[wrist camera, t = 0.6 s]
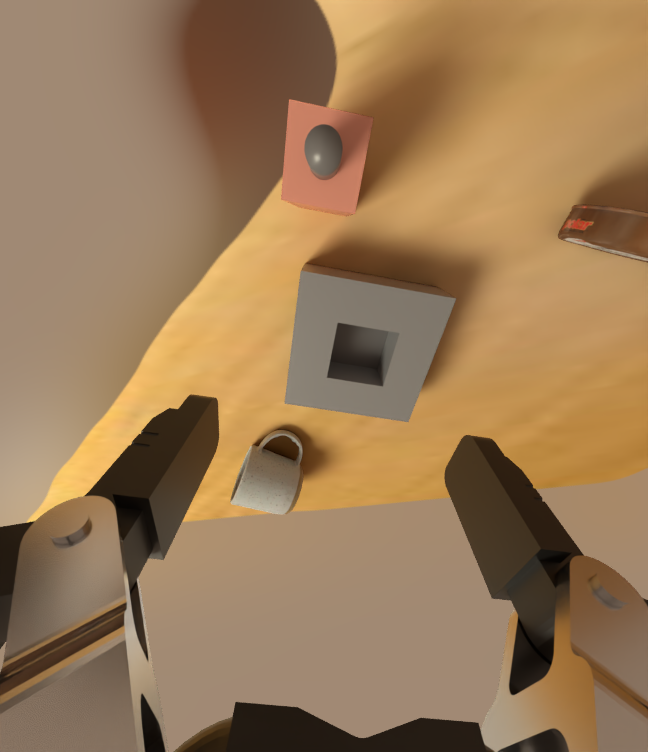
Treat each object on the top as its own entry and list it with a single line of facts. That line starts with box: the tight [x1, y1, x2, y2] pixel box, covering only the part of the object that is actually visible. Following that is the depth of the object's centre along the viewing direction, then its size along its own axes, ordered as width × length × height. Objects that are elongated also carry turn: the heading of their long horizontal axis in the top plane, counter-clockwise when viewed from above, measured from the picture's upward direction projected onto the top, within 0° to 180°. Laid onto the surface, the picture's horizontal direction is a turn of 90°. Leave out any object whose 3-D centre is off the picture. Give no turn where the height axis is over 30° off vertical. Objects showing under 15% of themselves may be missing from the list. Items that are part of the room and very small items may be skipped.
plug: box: [281, 99, 373, 216], centre depth 20 cm, size 4×4×14 cm
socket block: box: [285, 263, 456, 422], centre depth 30 cm, size 14×14×5 cm
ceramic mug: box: [230, 430, 303, 514], centre depth 38 cm, size 11×8×8 cm
